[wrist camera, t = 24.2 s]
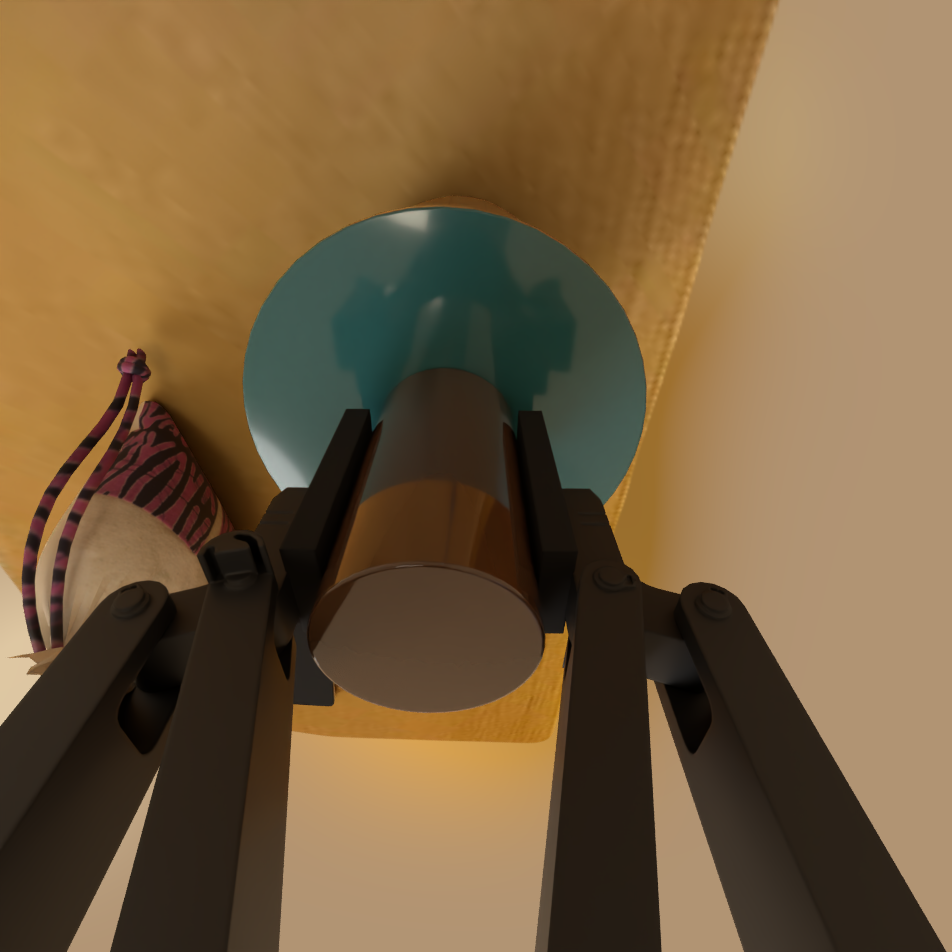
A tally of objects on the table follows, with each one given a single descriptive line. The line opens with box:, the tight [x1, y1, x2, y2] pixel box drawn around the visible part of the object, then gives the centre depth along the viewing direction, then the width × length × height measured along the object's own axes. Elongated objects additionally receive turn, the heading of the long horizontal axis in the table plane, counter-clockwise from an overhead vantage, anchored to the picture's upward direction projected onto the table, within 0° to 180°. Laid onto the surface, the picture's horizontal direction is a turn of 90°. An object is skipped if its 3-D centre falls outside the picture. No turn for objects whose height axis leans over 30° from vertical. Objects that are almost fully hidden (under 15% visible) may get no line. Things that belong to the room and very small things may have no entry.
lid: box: [243, 204, 646, 713], centre depth 14 cm, size 14×14×10 cm
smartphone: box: [293, 619, 335, 706], centre depth 52 cm, size 7×1×15 cm
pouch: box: [11, 349, 235, 675], centre depth 32 cm, size 25×8×19 cm, turn 8°
